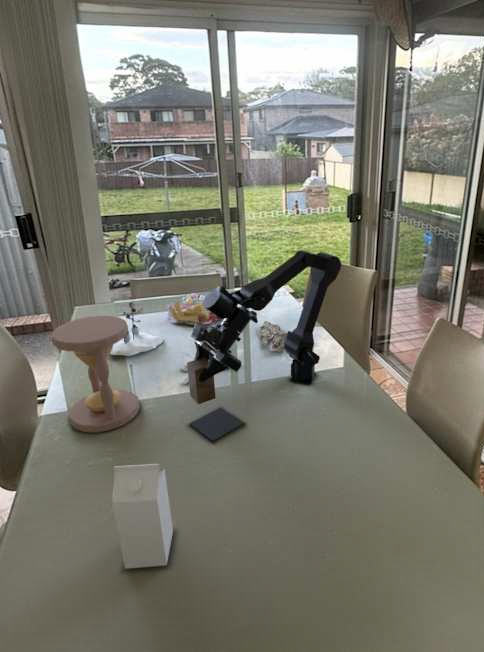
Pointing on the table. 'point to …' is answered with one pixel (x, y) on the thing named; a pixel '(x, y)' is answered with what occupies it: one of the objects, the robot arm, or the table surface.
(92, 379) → the hourglass
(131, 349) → the figurine
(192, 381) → the walnut block
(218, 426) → the coaster mat
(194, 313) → the yellow pink lumpy heap
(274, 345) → the pale grey lumpy piece
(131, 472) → the milk carton
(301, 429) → the table surface
